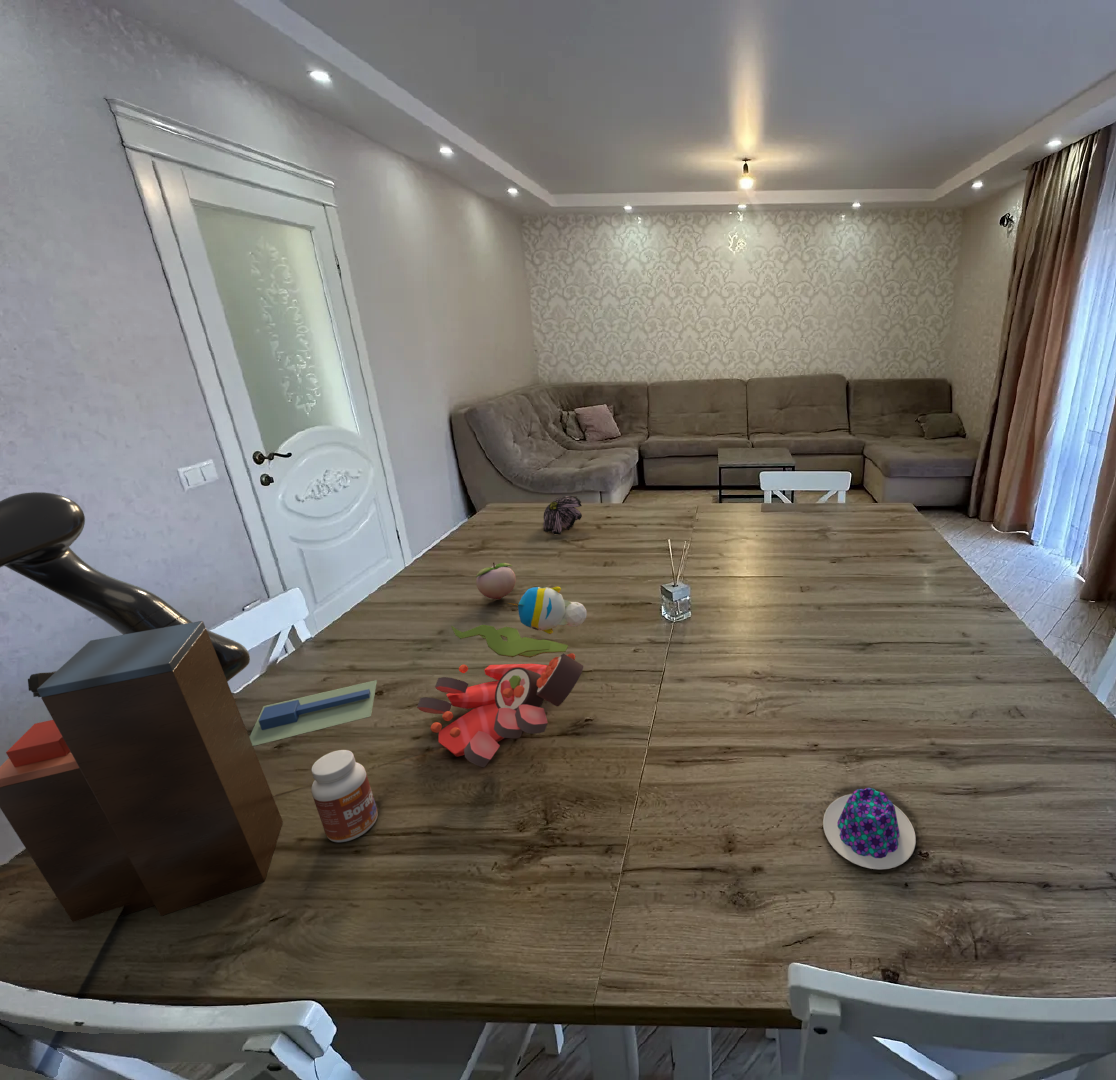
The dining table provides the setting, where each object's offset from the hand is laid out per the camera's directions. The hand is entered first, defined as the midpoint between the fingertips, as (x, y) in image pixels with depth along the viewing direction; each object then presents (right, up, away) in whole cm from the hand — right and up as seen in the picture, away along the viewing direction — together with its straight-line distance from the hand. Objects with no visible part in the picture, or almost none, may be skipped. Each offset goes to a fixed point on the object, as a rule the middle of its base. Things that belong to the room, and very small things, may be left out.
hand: (83, 673), depth 67 cm
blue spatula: (+5, -14, +33) cm, 36 cm away
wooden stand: (+10, -26, +3) cm, 28 cm away
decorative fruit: (+22, +1, +73) cm, 76 cm away
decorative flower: (+24, +20, +122) cm, 125 cm away
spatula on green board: (+5, -15, +33) cm, 36 cm away
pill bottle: (+26, -24, +10) cm, 36 cm away
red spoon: (+2, -5, -2) cm, 5 cm away
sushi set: (+40, -15, +33) cm, 54 cm away
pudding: (+97, -23, +8) cm, 100 cm away
